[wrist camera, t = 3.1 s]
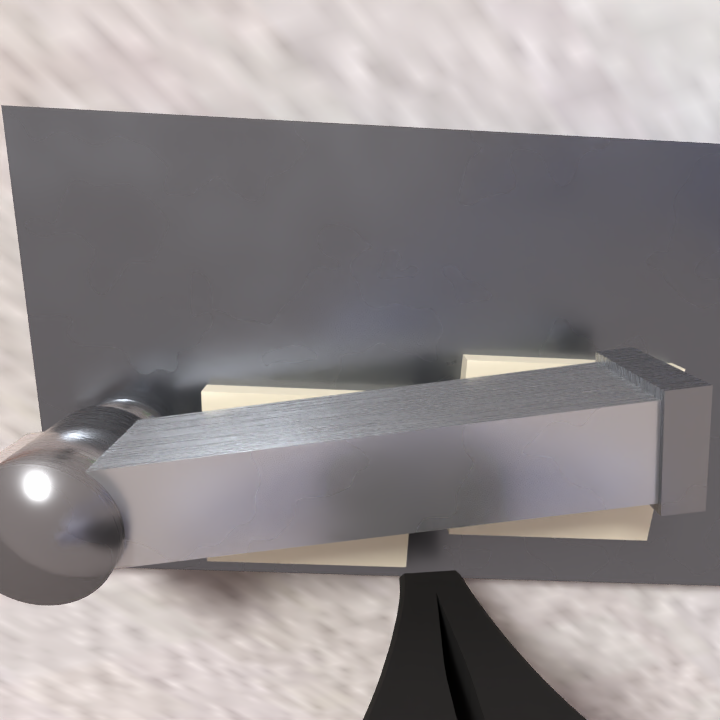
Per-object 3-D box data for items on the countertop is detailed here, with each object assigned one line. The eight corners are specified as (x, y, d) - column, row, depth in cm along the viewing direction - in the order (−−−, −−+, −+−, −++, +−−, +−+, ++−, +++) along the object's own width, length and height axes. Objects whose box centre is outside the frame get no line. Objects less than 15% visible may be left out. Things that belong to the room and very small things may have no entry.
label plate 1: (417, 392, 13) (420, 401, 12) (404, 554, 14) (406, 569, 13) (206, 384, 12) (199, 392, 12) (212, 548, 14) (206, 563, 13)
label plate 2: (672, 363, 12) (687, 370, 12) (636, 529, 14) (649, 543, 13) (463, 354, 12) (468, 361, 12) (445, 522, 14) (449, 536, 13)
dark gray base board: (824, 154, 12) (884, 148, 11) (714, 566, 15) (749, 601, 14) (24, 112, 11) (-19, 99, 10) (74, 546, 14) (46, 580, 13)
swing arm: (60, 526, 12) (-22, 614, 10) (24, 415, 11) (-76, 477, 9) (631, 456, 12) (712, 527, 9) (632, 338, 11) (721, 377, 9)
